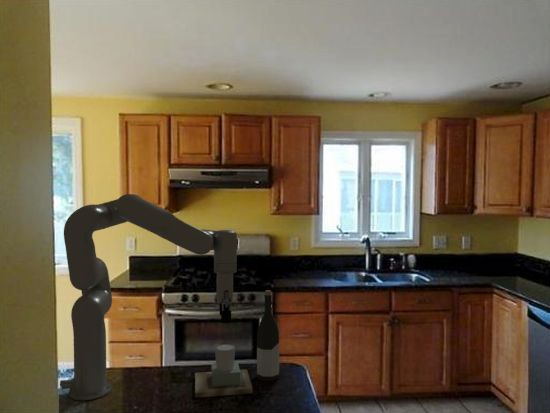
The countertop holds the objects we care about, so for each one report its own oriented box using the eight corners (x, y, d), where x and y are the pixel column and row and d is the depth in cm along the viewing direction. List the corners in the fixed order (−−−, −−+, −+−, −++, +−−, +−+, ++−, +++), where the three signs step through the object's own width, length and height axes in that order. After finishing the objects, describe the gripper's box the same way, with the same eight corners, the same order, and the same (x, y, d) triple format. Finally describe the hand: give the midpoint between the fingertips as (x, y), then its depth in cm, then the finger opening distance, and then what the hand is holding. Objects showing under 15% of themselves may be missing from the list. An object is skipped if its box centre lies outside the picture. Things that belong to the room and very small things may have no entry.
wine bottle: (263, 370, 157) (263, 287, 157) (283, 374, 154) (283, 289, 153) (252, 378, 150) (252, 291, 150) (273, 383, 146) (273, 294, 146)
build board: (195, 397, 136) (195, 392, 136) (195, 377, 151) (195, 372, 151) (252, 393, 139) (252, 388, 139) (246, 373, 155) (246, 368, 155)
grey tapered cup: (236, 364, 148) (236, 343, 148) (234, 372, 142) (234, 350, 141) (216, 364, 148) (215, 343, 148) (213, 372, 142) (213, 350, 141)
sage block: (212, 386, 140) (212, 374, 140) (211, 375, 149) (211, 363, 149) (240, 384, 142) (240, 372, 142) (237, 373, 150) (237, 362, 150)
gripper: (213, 263, 152) (212, 312, 153) (215, 272, 135) (214, 326, 136) (234, 263, 154) (234, 311, 154) (239, 271, 137) (238, 325, 137)
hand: (225, 318), depth 145 cm, fingers open, 9 cm apart
